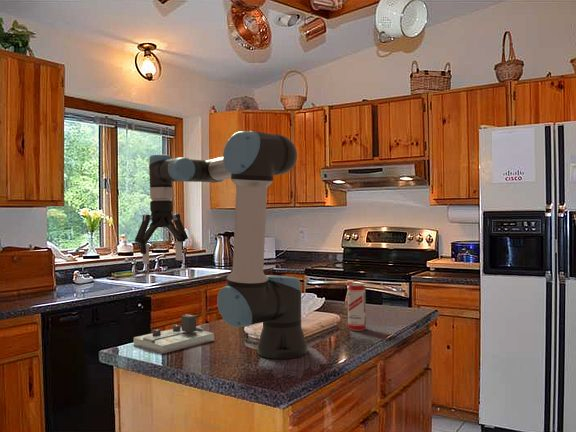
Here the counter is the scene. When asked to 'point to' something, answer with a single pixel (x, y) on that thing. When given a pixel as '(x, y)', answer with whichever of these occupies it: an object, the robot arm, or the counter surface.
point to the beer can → (356, 307)
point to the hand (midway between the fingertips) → (162, 262)
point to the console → (172, 339)
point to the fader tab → (188, 323)
